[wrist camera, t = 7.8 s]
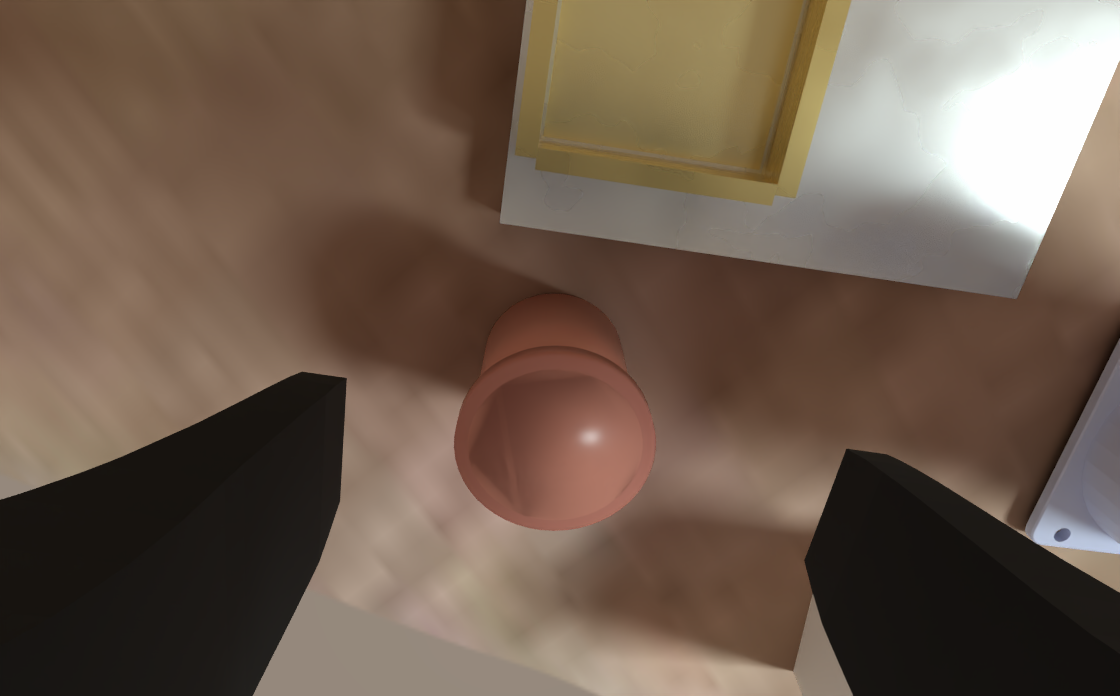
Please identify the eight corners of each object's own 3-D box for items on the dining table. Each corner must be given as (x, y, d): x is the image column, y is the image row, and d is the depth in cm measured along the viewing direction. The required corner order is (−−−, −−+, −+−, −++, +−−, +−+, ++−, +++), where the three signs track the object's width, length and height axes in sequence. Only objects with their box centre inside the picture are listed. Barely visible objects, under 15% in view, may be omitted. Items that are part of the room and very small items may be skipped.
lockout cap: (646, 295, 20) (675, 371, 16) (616, 435, 22) (634, 540, 17) (483, 272, 20) (464, 343, 15) (467, 416, 22) (445, 519, 17)
